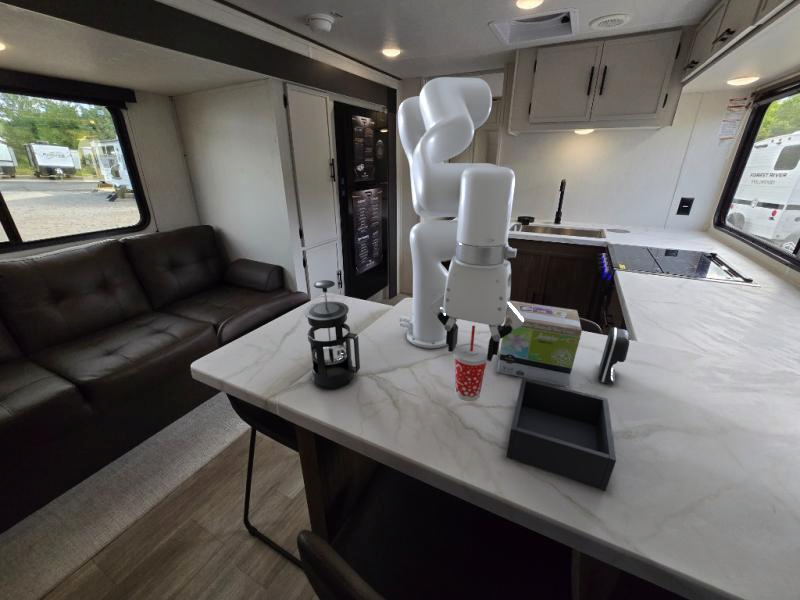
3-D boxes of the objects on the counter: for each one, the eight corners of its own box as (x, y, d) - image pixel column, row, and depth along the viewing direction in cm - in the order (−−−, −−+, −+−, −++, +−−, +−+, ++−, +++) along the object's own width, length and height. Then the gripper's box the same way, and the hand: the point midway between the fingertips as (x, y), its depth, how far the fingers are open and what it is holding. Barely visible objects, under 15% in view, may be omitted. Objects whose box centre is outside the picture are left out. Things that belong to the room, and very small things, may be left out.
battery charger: (617, 388, 73) (632, 342, 69) (597, 382, 75) (610, 337, 70) (617, 371, 79) (631, 328, 74) (599, 366, 80) (611, 323, 76)
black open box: (505, 457, 57) (510, 428, 54) (517, 403, 69) (522, 377, 66) (605, 491, 51) (616, 460, 49) (599, 425, 63) (607, 398, 61)
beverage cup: (450, 381, 66) (455, 317, 60) (482, 384, 65) (490, 319, 60) (450, 402, 61) (455, 333, 55) (485, 405, 60) (494, 336, 54)
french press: (301, 385, 75) (287, 287, 65) (322, 361, 83) (312, 272, 73) (350, 395, 71) (342, 294, 62) (367, 370, 80) (362, 277, 70)
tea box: (496, 374, 78) (504, 316, 72) (500, 351, 86) (507, 298, 80) (568, 388, 73) (583, 328, 67) (564, 363, 82) (577, 307, 76)
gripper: (542, 252, 52) (525, 353, 59) (435, 241, 59) (432, 332, 66) (538, 266, 46) (519, 376, 53) (419, 252, 52) (417, 351, 60)
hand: (471, 351), depth 59 cm, fingers closed on beverage cup, 6 cm apart
